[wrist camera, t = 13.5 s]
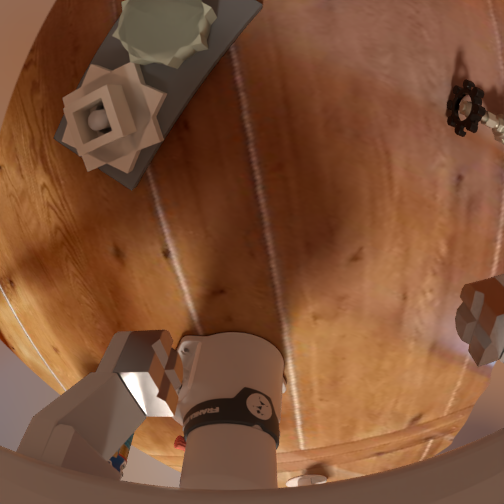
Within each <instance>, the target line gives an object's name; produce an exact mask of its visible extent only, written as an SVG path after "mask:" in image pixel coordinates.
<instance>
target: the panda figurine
mask: <svg viewBox="0 0 504 504" xmlns="http://www.w3.org/2000/svg"><path fill="white" fill-rule="evenodd" d="M326 481H327V478H326V477H325V476H323V475H303V476H298V477H294V478H291V479H289V480H288V481H287V482H286V485H287V486H288V487H296V486H305V485H313V484H320V483H325V482H326Z"/></svg>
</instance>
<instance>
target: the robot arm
mask: <svg viewBox="0 0 504 504" xmlns="http://www.w3.org/2000/svg"><path fill="white" fill-rule="evenodd" d="M460 298H461V300H462V301H463V302H462V304H461V305H460V306H459V308H458V309H457V313H456V317H455V322H456V330H457V332H458V335H459V337H460V338H461V340H462V341H464V342H466V343H468V344H469V350H468V351H469V353H470V354H471V356H472V358H473V359H474V361H475V363H476V364H477V366H478V367H479V366H482V365H485V364H488V363H491V362H494V361H497V360H499V359H500V361H501V362H503V363H504V274H501V275H497V276H494V277H491V278H488V279H484V280H480V281H477V282H473V283H469V284H465V285H464V287H463V288H462V291H461V295H460ZM172 344H173V339H172V337H171V335H170V332H169V331H167V330H147V331H126V332H117V333H116V334H114V336H113V338H112V340H111V342H110V344H109V346H108V348H107V350H106V352H105V354H104V356H103V358H102V360H101V362H100V364H99V366H98V368H97V370H96V372H91V373H89V374H88V375H87V376H86V377H84V378H83V379H82V380H80V381H79V382H78V383H76V384H75V385H74V386H72V387H71V388H70V389H69V390H67V391H66V392H65V393H63V394H62V395H61V396H60V397H58V398H57V399H55V400H54V401H53V402H52V403H50V404H49V405H48V406H46V407H45V408H44V409H42V410H41V411H40V412H38V413H37V414H36V415H35V416H33V418H32V420H31V422H30V424H29V426H28V428H27V430H26V432H25V434H24V436H23V438H22V440H21V442H20V445H19V447H18V449H17V451H16V452H15V451H12V450H10V449H7V448H5V447H2V446H0V504H504V428H502V429H500V430H498V431H496V432H494V433H492V434H490V435H487V436H485V437H483V438H481V439H478V440H476V441H474V442H471V443H469V444H466V445H464V446H462V447H459V448H457V449H454V450H452V451H448V452H446V453H443V454H440V455H437V456H434V457H431V458H428V459H425V460H422V461H419V462H416V463H412V464H409V465H406V466H402V467H398V468H395V469H391V470H387V471H383V472H379V473H374V474H370V475H366V476H361V477H356V478H351V479H345V480H340V481H334V482H327V483H320V484H313V485H305V486H296V487H285V488H278V484H277V462H276V449H277V448H278V446H279V437H280V431H279V422H280V419H281V406H282V393H284V392H285V391H286V382H285V379H284V378H283V370H284V361H283V357H282V355H281V353H280V352H279V350H278V349H277V348H276V347H275V346H274V345H272V344H271V343H270V342H268V341H266V340H265V339H262V338H260V337H258V336H255V335H251V334H246V333H239V332H226V333H219V334H215V335H211V336H204V337H203V336H184V337H183V338H182V339H181V341H180V344H179V346H178V348H177V350H174V349H173V348H172ZM186 348H187V349H186ZM146 416H171V417H172V418H173V419H174V420H175V421H177V422H178V423H179V424H181V425H182V426H183V431H184V437H182V436H178V437H177V438H176V440H175V443H174V447H175V448H176V449H181V450H183V451H185V453H184V459H183V466H182V472H181V478H180V485H179V486H180V488H174V487H164V486H155V485H147V484H140V483H133V482H127V481H120V478H121V475H120V473H119V471H118V470H116V469H115V468H114V467H113V466H112V465H111V464H110V463H109V462H108V461H109V459H110V458H111V457H112V456H113V455H114V454H115V453H116V452H117V451H118V449H119V448H120V447H121V446H122V445H123V444H124V443H125V442H126V440H127V439H128V438H129V437H130V436H131V435H132V434H133V433H134V431H135V430H136V429H137V428H138V427H139V426H140V425H141V423H142V422H143V421H144V420H145V419H146Z"/></svg>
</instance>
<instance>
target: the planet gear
mask: <svg viewBox="0 0 504 504" xmlns="http://www.w3.org/2000/svg"><path fill="white" fill-rule="evenodd" d="M166 96H167V93H165V92H163V91H160V90H158V89H156V88H153V87H151V86H149V85H146V84H145V81H144V78H143V74H142V71H141V68H140V65H139V64H136V63H132V62H130V63H127V64H125V65H123V66H121V67H119V68H117V69H115V70H113V71H112V70H110V69H107V68H104V67H102V66H99V65H94V64H91V65H90V67H89V69H88V72H87V74H86V76H85V79H84V81H83V83H82V86H81V87H80V88H79V89H77V90H75V91H73V92H72V93H70V94H68V95H66V96H65V97H63V98H62V99H63V102H64V106H65V108H63V111H64V114H65V117H66V120H67V126H66V129H65V132H64V135H63V139H62V142H64V143H66V144H68V145H70V146H72V147H74V148H76V149H77V152H78V155H79V156H82V158H83V161H84V164H85V166H86V169H87V172H89V171H91V170H93V169H95V168H98V167H100V166H102V165H104V164H109V165H111V166H113V167H115V168H117V169H119V170H121V171H123V172H125V173H127V174H128V173H129V172H131V171H132V170H133V168H134V166H135V163H136V161H137V158H138V156H139V154H140V151H141V149H143V148H146V147H149V146H151V145H154V144H156V143H159V142H161V141H163V140H164V138H163V135H162V132H161V129H160V126H159V123H158V120H157V117H156V116H157V114H158V112H159V110H160V108H161V106H162V104H163V102H164V100H165V98H166ZM103 105H104V108H105V111H106V114H107V117H108V120H109V123H110V126H111V129H112V131H111V132H109V131H107V130H105V129H102V130H98V131H95V130H92V129H91V128H90V127H89V124H88V118H89V115H90V114H91V113H92V112H93V111H96V110H101V109H102V107H103Z"/></svg>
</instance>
